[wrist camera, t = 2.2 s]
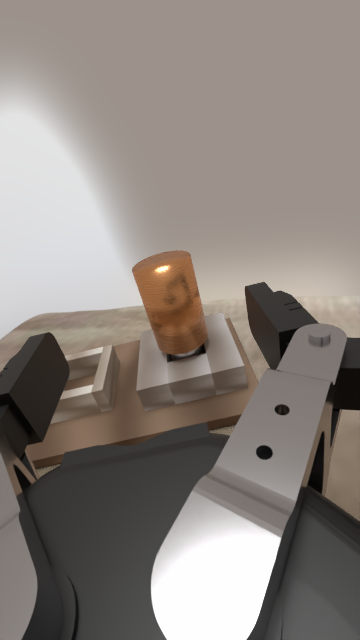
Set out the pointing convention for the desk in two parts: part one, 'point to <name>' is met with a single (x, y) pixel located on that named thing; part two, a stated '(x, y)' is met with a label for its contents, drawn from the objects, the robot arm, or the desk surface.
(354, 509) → the desk surface
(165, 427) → the tool board
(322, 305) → the desk surface
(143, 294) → the copper cup
